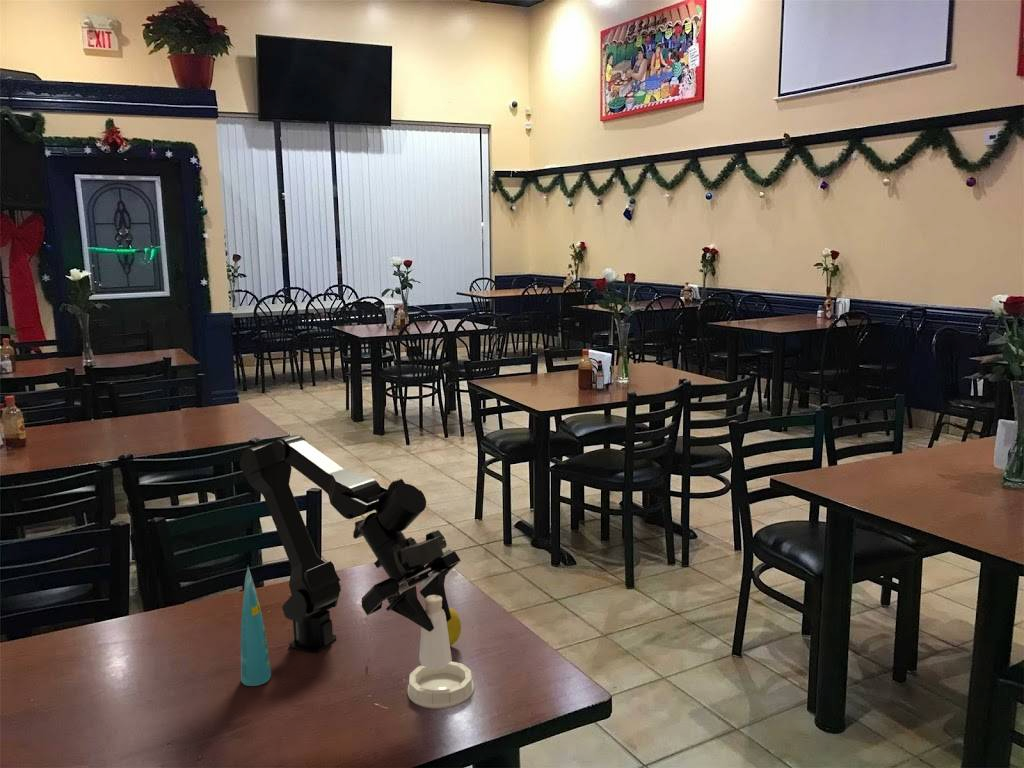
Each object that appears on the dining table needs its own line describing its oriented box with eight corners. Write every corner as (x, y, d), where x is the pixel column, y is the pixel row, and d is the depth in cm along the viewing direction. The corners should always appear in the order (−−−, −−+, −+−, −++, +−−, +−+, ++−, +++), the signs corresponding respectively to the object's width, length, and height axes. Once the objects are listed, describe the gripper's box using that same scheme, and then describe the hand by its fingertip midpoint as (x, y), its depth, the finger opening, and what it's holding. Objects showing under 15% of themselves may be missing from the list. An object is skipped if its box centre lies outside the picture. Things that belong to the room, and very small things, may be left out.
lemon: (457, 656, 145) (455, 614, 144) (427, 653, 147) (426, 612, 145) (464, 641, 151) (463, 601, 149) (436, 639, 152) (434, 599, 150)
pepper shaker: (415, 668, 130) (413, 604, 128) (422, 651, 135) (420, 589, 133) (449, 669, 129) (447, 606, 127) (454, 652, 135) (452, 590, 133)
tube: (274, 686, 137) (266, 579, 133) (244, 693, 135) (235, 584, 131) (267, 665, 143) (259, 563, 140) (238, 672, 141) (230, 568, 138)
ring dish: (394, 700, 132) (394, 686, 131) (428, 667, 142) (428, 654, 141) (454, 714, 127) (454, 700, 127) (485, 680, 137) (484, 667, 137)
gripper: (371, 536, 123) (427, 624, 119) (451, 504, 138) (503, 581, 133) (338, 572, 129) (390, 657, 125) (418, 537, 144) (467, 612, 139)
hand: (440, 625), depth 130 cm, fingers closed on pepper shaker, 4 cm apart
